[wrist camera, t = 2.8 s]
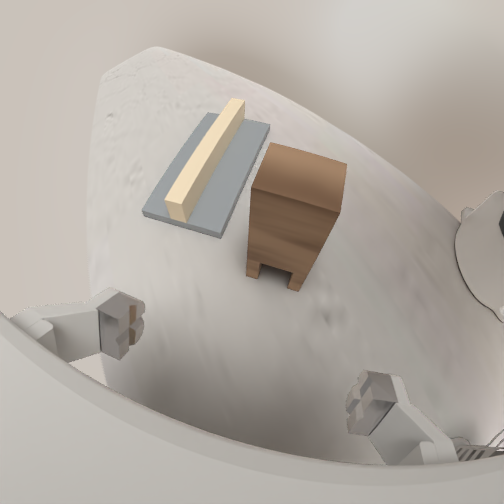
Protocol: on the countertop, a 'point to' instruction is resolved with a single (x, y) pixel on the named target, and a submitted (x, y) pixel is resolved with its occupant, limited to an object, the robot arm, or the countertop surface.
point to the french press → (468, 453)
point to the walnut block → (292, 210)
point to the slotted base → (219, 182)
